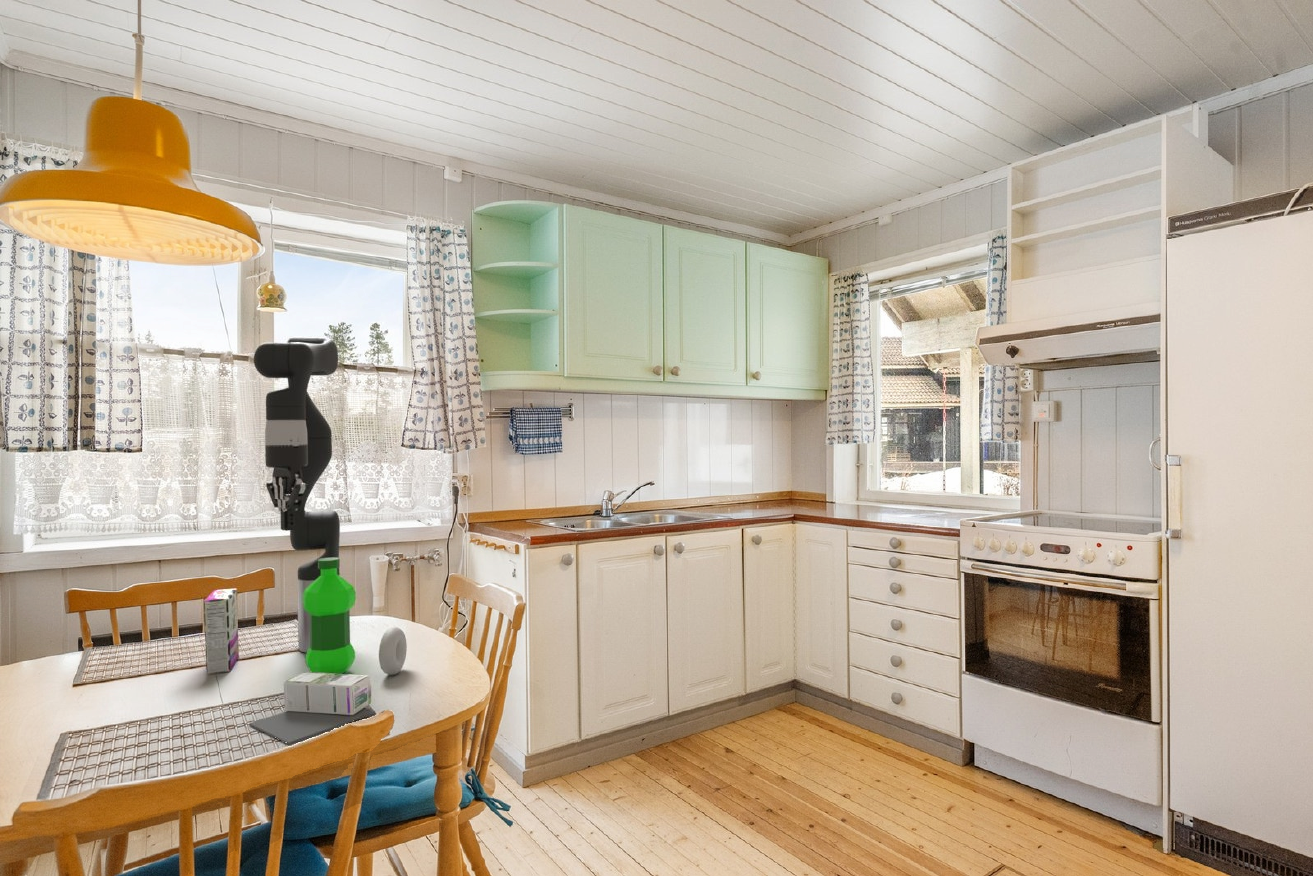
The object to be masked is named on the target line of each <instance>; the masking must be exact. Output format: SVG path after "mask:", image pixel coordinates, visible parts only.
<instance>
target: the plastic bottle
mask: <svg viewBox="0 0 1313 876" xmlns="http://www.w3.org/2000/svg"><path fill="white" fill-rule="evenodd" d="M338 567H339V568H340V567H341V566H340V557H339V558H335V557H331V558H322V559H319V560H318V569H321V576H320V577H318V578H317V579H316V580H315V581H314V582H313V583H312V584H311V585H309V586H308V587H307V588H306V589H305V591H304V594H303V605H304V609H305V610H306V611H307V612H308V613H309V614H310V648H309V649H308V651H307V652H306V654H305V664H306V666H307V668H308V670H309V671H310V672H316V673H334V674H343V673H344V674H345V672H346V671H347V670H348V669H350V668H351V667H352V665H353V663H354V662H355V659H356V652H355V649H354V646H353V645H352V644H351V625H350V623H351V621H350V619H351V618H350V615H351V614H350V610H351V609H352V608H353V607H354V606H355V604H356V595H357V593H356V591H355V587H354V586H353V585H352V584H350V583H349V581H347V580H346V579H344V578H343V577H341V575H337V568H338Z"/></svg>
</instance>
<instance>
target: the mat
mask: <svg viewBox="0 0 1313 876" xmlns="http://www.w3.org/2000/svg"><path fill="white" fill-rule="evenodd" d="M373 715H376V711H374V710H371V709H369V708H367V707H364V708H363V709H361V710H360V711H358V712H357V713H355V714H354V715H342V714H325V713H309V712H295V711H284V712H281V713H278V714H277V713H276V714H274V715H271V716H268V717H265V718H262V719H259V720H258V719H257V720H255V721H252V722H249V724H248V725H249V727H252V728H253V729H255V728H256V729H255V730H257V729H258V730H257V731H259V730H260V731H259V732H261V731H262V733H263V732H265V733H266V734H265V733H264V734H265V735H267V734H268V736H269V735H270V737H271V736H272V738H273V737H276V738H278V739H279V740H282V741H284V742H287V743H288V744H286V745H287V746H290V745H292V744H296V743H298V742H300V741H304V740H306V739H309V738H311V737H312V738H313V737H315V736H317V735H320V734H323V733H326V732H329V731H331V730H330V729H332V728H335V729H337V728H339V727H338V726H340V727H342V726H341V725H343V726H345V725H344V724H345V723H349V722H351V723H353V722H352V721H353V720H357V719H360V720H363V719H365V718H368V717H371V716H373ZM364 717H365V718H364ZM362 718H363V719H362ZM357 721H358V720H357ZM349 724H350V723H349ZM336 727H337V728H336ZM332 730H333V729H332ZM322 732H323V733H322ZM308 737H309V738H308ZM279 740H278V741H279Z"/></svg>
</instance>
